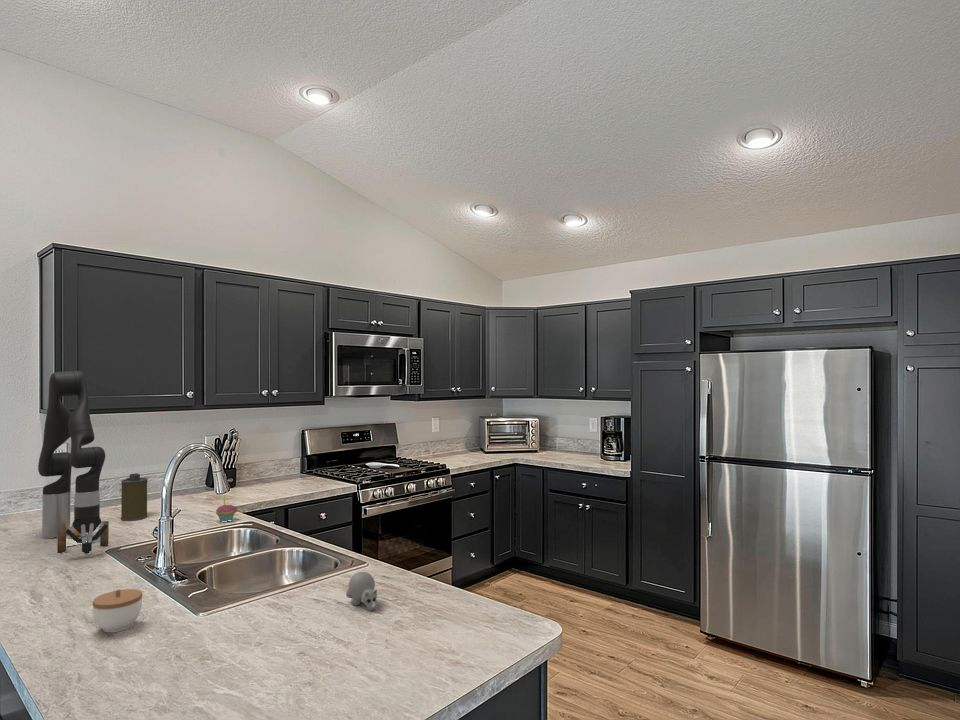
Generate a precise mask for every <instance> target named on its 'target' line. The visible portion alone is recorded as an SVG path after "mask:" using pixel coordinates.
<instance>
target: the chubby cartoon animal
mask: <svg viewBox="0 0 960 720" xmlns="http://www.w3.org/2000/svg"><path fill="white" fill-rule="evenodd" d="M375 586H376V583H375V578H374V577H373V576H372V574H370V573H369V572H367V571H359V572H357V573H354V574H353V575H352V576H351V577H350V579H349V582H348V587H347V589H346V593H345V595H346V597H347V598H349V599H351V601H350V604H351V605H352V606H354V607H358V606H359V605H361V602H362V603H363V604H364V605H365V607H366V608H367V610H368V611H371V612H372V611H375V610H376V609H377V607H378V602H377V599H378V595H377V594H378V593H377V592H378V589H375Z"/></svg>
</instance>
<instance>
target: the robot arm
mask: <svg viewBox="0 0 960 720" xmlns="http://www.w3.org/2000/svg"><path fill="white" fill-rule="evenodd" d="M69 396H70V397H71V396H77V403H76V406H75V408H74V409H73V411H72V412H71V411H70V410H69V409H68V408H67V407H66V405H64V403H63V402H62V400H61V398H62V397H69ZM47 400H48V404H47V409H46V410H47V411H46V415H45V420H44V421H45V422H44V428H43V429H44V430H43V440H42V446H41V451H40V454H39V458H38V465H37V470H38V471H37V472H38V474H39V475H40V476H41V477H44V478H45V477H47V478H49V477H58V476H60V477H59V478H58V479H57V480H56V481H53V482H51V483H48V484H46V485H45V486H43V487H42V499H41V501H42V508H41V509H42V511H41V512H42V513H41V514H42V515H41V516H42V518H41V521H42V522H41V523H42V524H41V526H42V527H41V538H43V539H55V538H54V537H56V538H58V528H59V527H66V530H65V531H66V536H69V537H70V538H72V539H73V540H74V541H76V542H77V543H82V545H81V553H83V554H84V555H86V554H90V552H92V550H93V549H92V548H93V547H92V545H93V543H92V542H93V541H94V540H97V539H98V538H99V537H100V535H101V534H102V533H103V532H104V531H105V529H106V528H107V527H108V525H107V524H106V523H103V522H102V519H101V516H100V514H101V513H100V511H101V509H100V508H101V496H100V476H101V473H102V469H103V466H104V464H105V460H106V451H105V450H104V448H103V447H101V446H91V447H84V446H86V445H89V444H91V443H92V442H94V440H95V433H94V428H93V425H92V420H91V413H90V402H89V400H90V399H89V390H88V382H87V378H86V375H85V372H83V371H80V370H72V371H71V370H69V371H67V370H66V371H55V372H52V374H51V375H50V377H49V382H48V399H47ZM69 439H70V452H68V451H66V452H65V451H64V452H55V451H56V450H57V449H58V448H59V447H60V446H61V447H62V445H64V444H65V443H66V442H67V441H68V440H69ZM72 468H75V469H84V468H85V469H87V468H90V469H89V470H88V471H87V472H85V473H83V474H80V475H79V474H78V475H77V476H76V477H75V480H74V481H75V487H74V491H75V492H74V493H75V494H74V500H73V501H74V503H73V505H74V506H73V510H74V511H73V512H74V513H73V519H74V520H73V521H72V524H71V503H72V502H71V499H72V497H71V495H72V493H71V487H72V485H71V484H72V478H71V477H72ZM98 527H99V529H98ZM74 528H75V529H76V530H77V531H78V532H79V533H81V536H80V537H81V538H78V537H79V536H76V535H75V534H74V533H73V532H74ZM97 529H98V530H97ZM96 530H97V531H96ZM95 531H96V533H95V534H94V532H95ZM93 535H94V536H93ZM86 536H88V537H87V542H86ZM92 536H93V537H92Z"/></svg>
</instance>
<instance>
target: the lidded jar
mask: <svg viewBox="0 0 960 720" xmlns="http://www.w3.org/2000/svg"><path fill="white" fill-rule="evenodd" d="M142 597H143V591H142V590H140V589H134V588H132V589H131V588H126V589H116V590H113V591H108V592H106V593H103V594H100V595H98V596H96V597H95V598H94V599H93V600H92V613H93V621H94V622H95V624H96V625H97V627H99V629H102V631H103V632H104V633H107V634H109V633H111V634H113V633H118V632H123V631H124V630H127V629H129V628H131V627H132V624H133V623H135V621H136V620H137V619H138V617H139V616H140V613H141V609H142V601H143V600H142V599H143V598H142Z"/></svg>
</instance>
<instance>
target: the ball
mask: <svg viewBox="0 0 960 720" xmlns="http://www.w3.org/2000/svg"><path fill="white" fill-rule="evenodd" d="M73 533H74V534H75V535H76V536H77V537H81V533H79V532H78V531H77V530H76V529H75V528H74V532H73Z"/></svg>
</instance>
